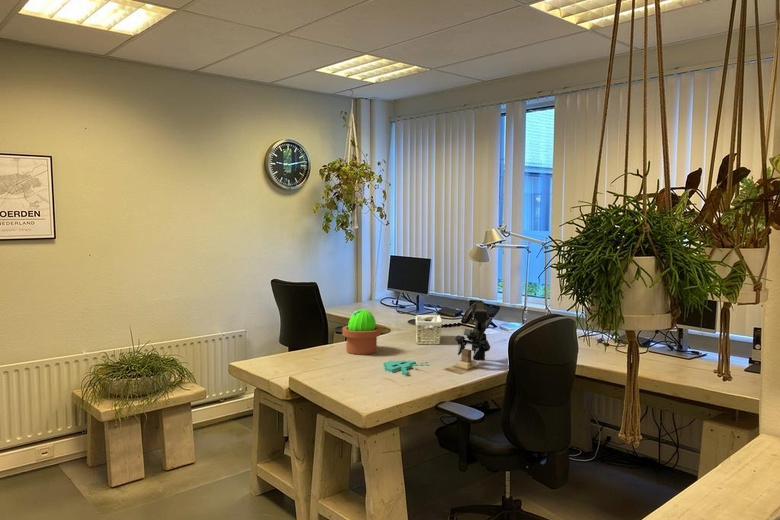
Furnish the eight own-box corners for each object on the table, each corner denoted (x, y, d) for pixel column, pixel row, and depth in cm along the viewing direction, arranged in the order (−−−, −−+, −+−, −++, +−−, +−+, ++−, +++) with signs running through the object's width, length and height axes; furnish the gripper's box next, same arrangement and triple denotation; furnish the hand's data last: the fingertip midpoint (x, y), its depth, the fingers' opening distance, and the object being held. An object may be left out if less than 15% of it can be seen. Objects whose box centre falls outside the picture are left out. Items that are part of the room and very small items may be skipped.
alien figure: (429, 368, 297) (399, 362, 310) (429, 364, 297) (399, 358, 310) (405, 377, 282) (375, 369, 294) (406, 372, 282) (375, 365, 294)
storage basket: (415, 336, 372) (415, 314, 371) (440, 337, 371) (440, 314, 370) (415, 345, 348) (415, 321, 347) (442, 345, 347) (442, 321, 346)
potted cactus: (381, 347, 342) (381, 305, 340) (379, 356, 320) (379, 312, 318) (344, 346, 342) (344, 305, 340) (340, 355, 320) (340, 311, 318)
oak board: (462, 365, 302) (463, 362, 302) (482, 370, 294) (482, 367, 294) (441, 372, 289) (441, 369, 289) (461, 377, 281) (461, 374, 281)
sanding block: (465, 364, 299) (465, 347, 298) (476, 366, 294) (476, 349, 294) (455, 367, 293) (456, 350, 292) (467, 369, 288) (467, 352, 288)
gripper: (457, 320, 301) (444, 344, 294) (487, 325, 289) (474, 350, 281) (465, 332, 308) (453, 356, 300) (495, 338, 295) (483, 363, 288)
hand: (465, 356), depth 292 cm, fingers open, 9 cm apart
